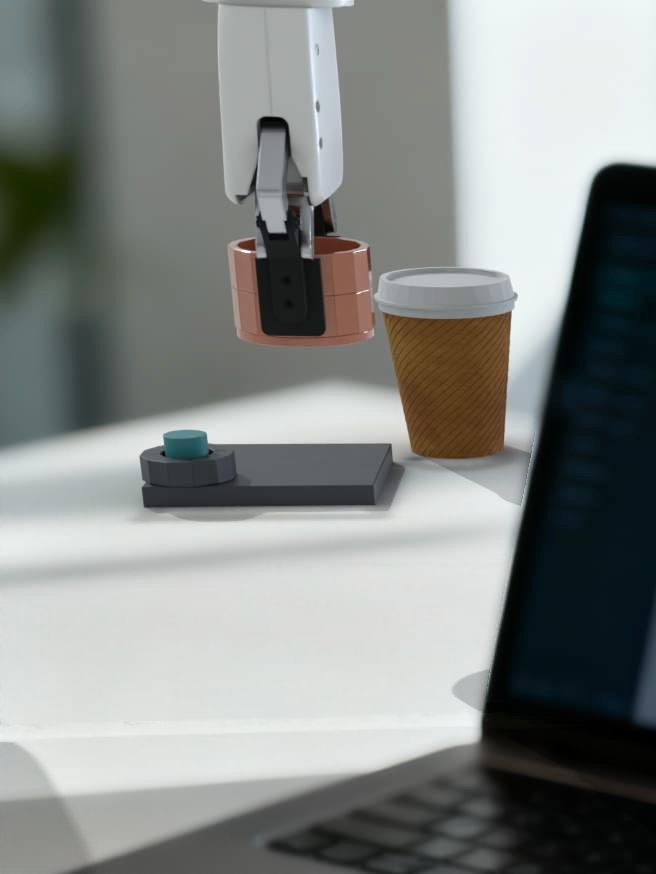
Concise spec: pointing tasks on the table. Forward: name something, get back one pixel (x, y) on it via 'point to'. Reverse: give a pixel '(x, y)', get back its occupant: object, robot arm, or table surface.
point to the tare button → (186, 444)
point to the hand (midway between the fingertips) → (305, 319)
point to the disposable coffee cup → (450, 356)
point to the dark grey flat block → (267, 475)
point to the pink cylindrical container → (341, 286)
